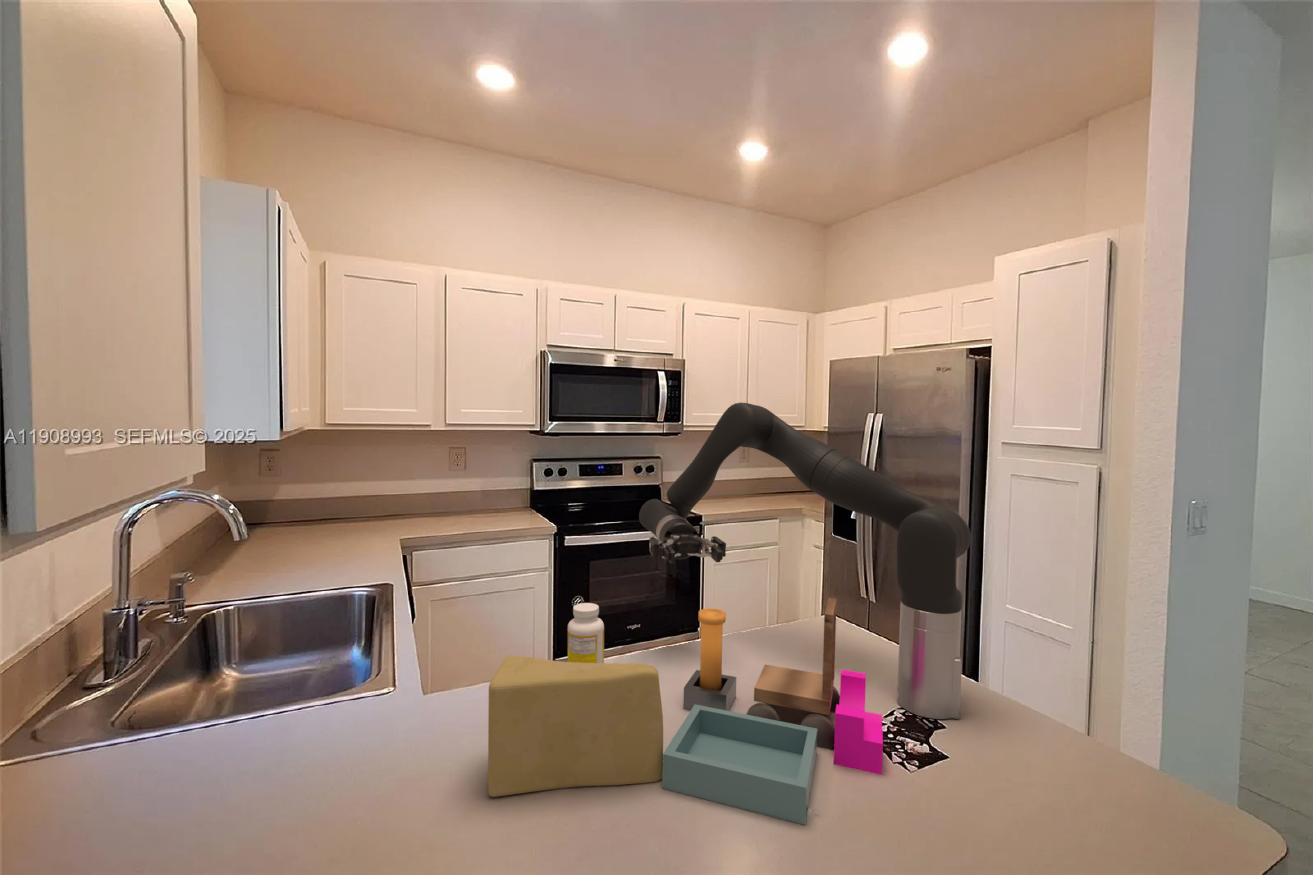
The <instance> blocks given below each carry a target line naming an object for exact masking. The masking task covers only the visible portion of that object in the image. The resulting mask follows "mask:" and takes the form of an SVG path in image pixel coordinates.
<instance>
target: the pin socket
mask: <svg viewBox="0 0 1313 875" xmlns="http://www.w3.org/2000/svg"><path fill="white" fill-rule="evenodd" d="M736 698H737V676H734V675H733V676H732V675H727V674H722V680H721V691H718V690H713V689H707V688H702V687H700V670H699V669H695V671H694V672H693V674H692V675H691V677H690V678H689V679H688V681H687V682H686V684H685V685H684V687H683V705H682V706H683V707H682V710H684V711H689V712H690V711H691V709H692V708H693V706H694V705H695V704H696V705H701V706H706V707H711V708H716V709H721V710H726V711H731V709H732V707H733V705H734V703H735V701H736Z"/></svg>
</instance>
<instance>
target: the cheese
mask: <svg viewBox="0 0 1313 875" xmlns="http://www.w3.org/2000/svg"><path fill="white" fill-rule="evenodd" d="M489 682H490V683H489V685H488V722H487V724H488V729H487V730H488V733H487V734H488V743H487V744H488V749H487V750H488V752H487V753H488V754H487V756H488V757H487V759H488V760H487V762H488V764H487V767H488V768H487V793H488V795H489V797H493V798H494V797H495V798H496V797H505V796H511V795H518V794H524V793H525V794H527V793H533V792H538V791H539V792H540V791H547V790H555V789H565V788H579V787H601V786H604V787H605V786H618V785H619V786H621V785H635V784H645V783H646V784H647V783H656V782H660V780H662V779H663V754H664V716H663V707H662V706H663V705H662V696H661V688H660V677H659V672H658V669H657V667H656V666H654V665H651V664H648V663H638V662H637V663H635V662H634V663H632V662H631V663H630V662H627V663H611V662H610V663H607V662H606V663H605V662H604V663H574V662H568V661H559V660H558V661H557V660H551V659H544V658H538V657H537V658H536V657H530V656H523V655H508V656H506V657H505V658H504V659H503V660H502V662H501V664H500V665H499V666H498V668H497V669H496V672H495V673H494V675H493V676H492V678H491V679H490V681H489Z"/></svg>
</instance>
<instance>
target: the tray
mask: <svg viewBox="0 0 1313 875" xmlns="http://www.w3.org/2000/svg"><path fill="white" fill-rule="evenodd" d="M746 714H747V713H746ZM746 714H745V713H741V712H736V711H731V710H730V711H726V710H721V709H716V708H711V707H706V706H701V705H696V704H695V705H694V706H693V708H692V709H691V711H690V710H689V713H688V714H687V715H686V717H685V719H684V721H683V722H682V723H681V726H680V727H679V728H678V729H677V732H676V733H675V735H674V737H672V739H671V741H670V742H669V744H668V745H667V747H666V749H665V750H664V751H663V776H662V789H664V790H668V791H671V792H677V793H679V794H684V795H688V796H691V797H696V798H700V799H704V800H707V801H711V802H715V803H719V804H723V805H727V806H730V807H734V808H738V809H742V810H745V811H749V812H754V813H757V814H761V815H765V816H769V817H774V818H777V819H781V820H785V821H788V822H793V823H796V824H800V825H804V826H806V822H807V818H808V811H809V806H808V805H809V800H810V794H811V790H812V784H813V776H814V773H815V772H814V771H815V768H816V760H817V754H818V747H817V733H818V729H816V728H811V727H806V726H801V724H795V723H790V722H785V721H781V720H780V721H776V720H771V719H766V718H761V717H756V716H751V715H746Z"/></svg>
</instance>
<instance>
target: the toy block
mask: <svg viewBox="0 0 1313 875" xmlns="http://www.w3.org/2000/svg"><path fill="white" fill-rule="evenodd" d="M839 684H840V685H839V686H840V688H839V695H840V700H839V705H838V704H837V705H836V712H835V713H834V714H835V716H834V727H835V739H834V746H833V765H834V766H840V767H845V768H850V769H854V770H858V771H863V772H868V773H872V774H877V775H883V752H884V751H883V750H884V749H883V748H884V747H883V746H884V739H883V736H884V735H883V734H884V733H883V714H879V713H874V712H869V711H866V684H867V673H865V672H859V671H853V670H848V669H841V671H840V683H839Z"/></svg>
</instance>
